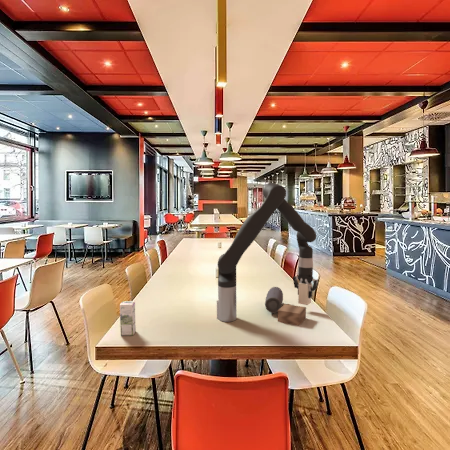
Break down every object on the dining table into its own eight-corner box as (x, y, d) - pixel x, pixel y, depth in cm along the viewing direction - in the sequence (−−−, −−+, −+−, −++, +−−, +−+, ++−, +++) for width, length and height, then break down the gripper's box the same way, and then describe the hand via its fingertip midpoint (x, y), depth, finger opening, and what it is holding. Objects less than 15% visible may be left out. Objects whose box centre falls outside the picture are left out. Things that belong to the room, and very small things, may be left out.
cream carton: (298, 303, 186) (298, 281, 185) (302, 301, 190) (302, 279, 189) (307, 305, 183) (307, 282, 182) (310, 302, 187) (311, 281, 186)
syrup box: (136, 330, 161) (135, 300, 160) (133, 335, 155) (132, 304, 154) (123, 331, 161) (122, 300, 160) (120, 336, 155) (119, 304, 154)
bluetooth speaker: (282, 315, 179) (282, 297, 179) (264, 314, 181) (264, 296, 181) (283, 302, 202) (283, 286, 201) (267, 302, 204) (267, 285, 203)
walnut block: (277, 322, 171) (277, 310, 171) (285, 315, 181) (285, 304, 180) (299, 325, 166) (299, 313, 166) (305, 318, 176) (305, 307, 175)
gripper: (290, 265, 186) (289, 296, 187) (315, 268, 177) (314, 301, 178) (296, 263, 192) (295, 293, 193) (321, 266, 183) (320, 297, 184)
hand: (304, 296), depth 186 cm, fingers closed on cream carton, 5 cm apart
